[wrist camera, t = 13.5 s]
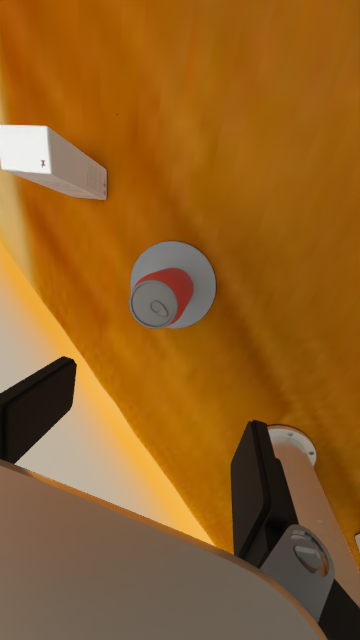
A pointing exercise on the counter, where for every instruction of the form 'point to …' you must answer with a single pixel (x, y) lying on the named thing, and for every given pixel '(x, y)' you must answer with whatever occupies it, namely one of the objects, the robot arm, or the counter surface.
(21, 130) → the skincare box
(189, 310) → the slate mat
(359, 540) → the soap bottle
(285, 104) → the counter surface
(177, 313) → the beer can
